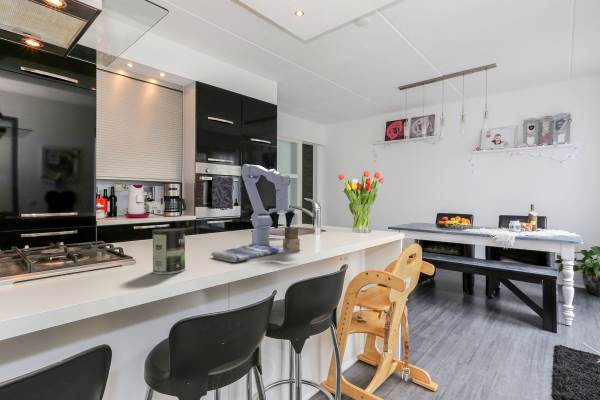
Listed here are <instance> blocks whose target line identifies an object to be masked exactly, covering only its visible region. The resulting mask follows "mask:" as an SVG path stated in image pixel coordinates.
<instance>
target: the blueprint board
mask: <svg viewBox="0 0 600 400" xmlns="http://www.w3.org/2000/svg"><path fill="white" fill-rule="evenodd" d="M271 247H272V248H275V249H278V250H279V251H278V252H276V253H275V254H282V253H289V252H294V251H301V250H303V248H300V249H297V250H291V251H290V250H286V249H283V244H280V245H273V246H271Z"/></svg>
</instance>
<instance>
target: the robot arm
mask: <svg viewBox="0 0 600 400" xmlns="http://www.w3.org/2000/svg"><path fill="white" fill-rule="evenodd" d="M240 174H241V177H242V180H243V181H244V186H245V189H246V192H247V196H248V198H249V200H250V203H251V204H250V205H251V206H252V210H253V213H252V214H251V216H250V217H251V224H252V226H253V230H252V232H251V244H255V245H259V246H267V245H270V229H271V227H272V226H273V228H274V229H278V228H279V218H280V214H281V213H284V217H285V226H286V227H285V228H287V227H291V225H292V221H293V218H295V217H294V216H295V215H296V214H295V212H296V211H295V210H296V208H295V207H292V208H291V207H290V208H289V186H290V184H291V176H289V175H288V174H283V173H282V172H279V171H277V170H276V169H274V168H272V169H267V168H265V167H263V166H262V165H258V164H256V165H255V164H247V163H245V164H242V167H241V171H240ZM261 176H264V177H265V178H266V180H267V181H269V182H271V183H273V184H274V188H275V199H276V200H275V203H276V204H275V205H276V206H275V208H269V209H268V210H266V209H265V208H264V205H263V202H262V200H261V199H262V198H261V197H260V194H259V192H258V188H257V185H256V183H258V181H259V180H260V177H261Z"/></svg>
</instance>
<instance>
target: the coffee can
mask: <svg viewBox="0 0 600 400" xmlns="http://www.w3.org/2000/svg"><path fill="white" fill-rule="evenodd" d="M151 232H152V274H154V275H172V274H173V275H174V274H179V273H182V272H184V271H186V228H179V227H177V228H176V227H174V228H157V229H153V230H151Z"/></svg>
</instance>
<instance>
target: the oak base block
mask: <svg viewBox="0 0 600 400" xmlns="http://www.w3.org/2000/svg"><path fill="white" fill-rule="evenodd" d="M300 241H301V240H300V237H298V239H286V238H285V237H283V238H282V245H283V249H286V250H290V251H289V252H292V251H291V250H295V251H298V250H297V249H301V247H300V245H301V244H300Z"/></svg>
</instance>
